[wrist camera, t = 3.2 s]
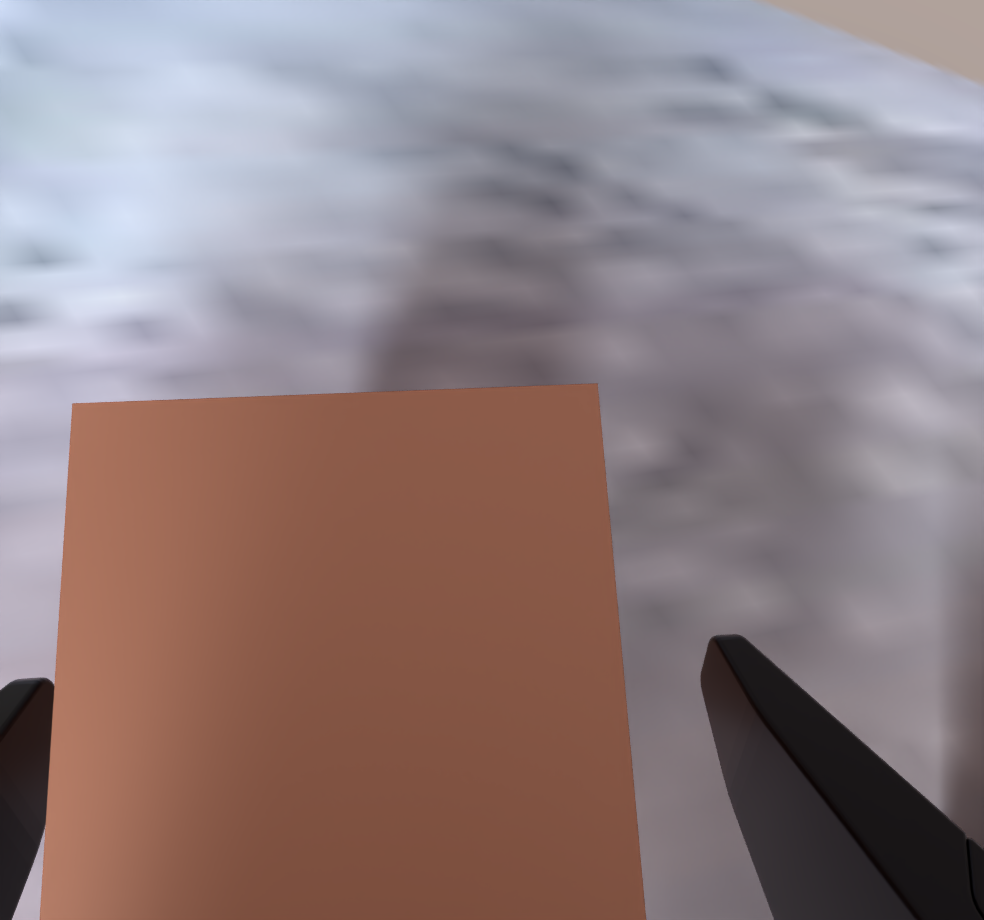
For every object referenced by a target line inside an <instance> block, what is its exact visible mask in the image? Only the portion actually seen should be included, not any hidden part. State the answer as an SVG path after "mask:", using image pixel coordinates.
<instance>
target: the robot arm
mask: <svg viewBox="0 0 984 920" xmlns="http://www.w3.org/2000/svg"><path fill="white" fill-rule="evenodd" d="M701 689H702V693H703V697H704V701H705V705H706V709H707V713H708V717H709V721H710V725H711V729H712V733H713V737H714V741H715V745H716V749H717V753H718V757H719V761H720V765H721V769H722V773H723V776H724V780H725V784H726V787H727V791H728V795H729V798H730V800H731V803H732V806H733V809H734V812H735V815H736V818H737V820H738V823H739V826H740V828H741V831H742V834H743V837H744V839H745V842H746V845H747V847H748V850H749V853H750V856H751V858H752V861H753V864H754V866H755V869H756V872H757V874H758V877H759V880H760V883H761V885H762V888H763V891H764V893H765V896H766V899H767V902H768V904H769V907H770V910H771V912H772V915H773V918H774V920H984V849H983V848H982V847H981V846H980V845H979V844H978V843H977V842H976V841H974V840H973V839H972V838H967V837H966V834H965V832H964V831H963V830H962V829H961V828H959V827H958V826H957V825H956V824H955V823H954V822H953V821H951V820H950V819H949V818H948V817H947V816H946V815H945V814H944V813H942V812H941V811H940V810H939V809H938V808H937V807H936V806H935V805H933V804H932V803H931V802H930V801H929V800H928V799H927V798H925V797H924V796H923V795H922V794H921V793H920V792H919V791H918V790H916V789H915V788H914V787H913V786H912V785H911V784H910V783H909V782H907V781H906V780H905V779H904V778H903V777H902V776H901V775H899V774H898V773H897V772H896V771H895V770H894V769H893V768H892V767H890V766H889V765H888V764H887V763H886V762H885V761H884V760H882V759H881V758H880V757H879V756H878V755H877V754H876V753H875V752H873V751H872V750H871V749H870V748H869V747H868V746H867V745H866V744H864V743H863V742H862V741H861V740H860V739H859V738H858V737H856V736H855V735H854V734H853V733H852V732H851V731H850V730H849V729H847V728H846V727H845V726H844V725H843V724H842V723H841V722H840V721H838V720H837V719H836V718H835V717H834V716H833V715H832V714H830V713H829V712H828V711H827V710H826V709H825V708H824V707H823V706H821V705H820V704H819V703H818V702H817V701H816V700H815V699H813V698H812V697H811V696H810V695H809V694H808V693H807V692H806V691H804V690H803V689H802V688H801V687H800V686H799V685H798V684H797V683H795V682H794V681H793V680H792V679H791V678H790V677H789V676H787V675H786V674H785V673H784V672H783V671H782V670H781V669H780V668H778V667H777V666H776V665H775V664H774V663H773V662H772V661H771V660H769V659H768V658H767V657H766V656H765V655H764V654H763V653H761V652H760V651H759V650H758V649H757V648H756V647H755V646H754V645H752V644H751V643H750V642H749V641H748V640H747V639H746V638H744V637H742V636H741V635H737V634H732V635H716V636H713V637H712V638H711V639H710V641H709V643H708V647H707V651H706V655H705V659H704V663H703V667H702V671H701ZM53 702H54V684H53V683H52V681H50V680H49V679H47V678H27V679H18V680H14V681H12V682H10V683H9V684H7V685H6V686H5V687H4V688H2V689H1V690H0V920H12V918H13V915H14V912H15V910H16V907H17V905H18V902H19V899H20V897H21V894H22V892H23V889H24V886H25V884H26V881H27V879H28V876H29V873H30V871H31V868H32V865H33V863H34V860H35V857H36V854H37V851H38V849H39V845H40V842H41V839H42V836H43V832H44V829H45V825H46V812H47V797H48V781H49V765H50V749H51V734H52V718H53Z"/></svg>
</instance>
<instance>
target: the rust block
mask: <svg viewBox="0 0 984 920" xmlns="http://www.w3.org/2000/svg"><path fill="white" fill-rule="evenodd" d="M40 920H646V913H645V902H644V891H643V880H642V868H641V857H640V846H639V835H638V824H637V813H636V802H635V791H634V780H633V769H632V758H631V747H630V736H629V725H628V714H627V703H626V692H625V681H624V670H623V659H622V648H621V637H620V626H619V615H618V604H617V593H616V582H615V571H614V560H613V548H612V537H611V526H610V515H609V504H608V493H607V482H606V471H605V460H604V449H603V438H602V427H601V416H600V405H599V394H598V383H597V384H571V385H544V386H518V387H492V388H466V389H440V390H414V391H387V392H361V393H335V394H309V395H283V396H257V397H230V398H204V399H178V400H152V401H126V402H100V403H74V404H72V419H71V435H70V450H69V466H68V482H67V498H66V513H65V529H64V545H63V560H62V576H61V592H60V608H59V623H58V639H57V655H56V671H55V686H54V702H53V718H52V734H51V749H50V765H49V781H48V797H47V812H46V828H45V844H44V860H43V875H42V891H41V907H40Z"/></svg>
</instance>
